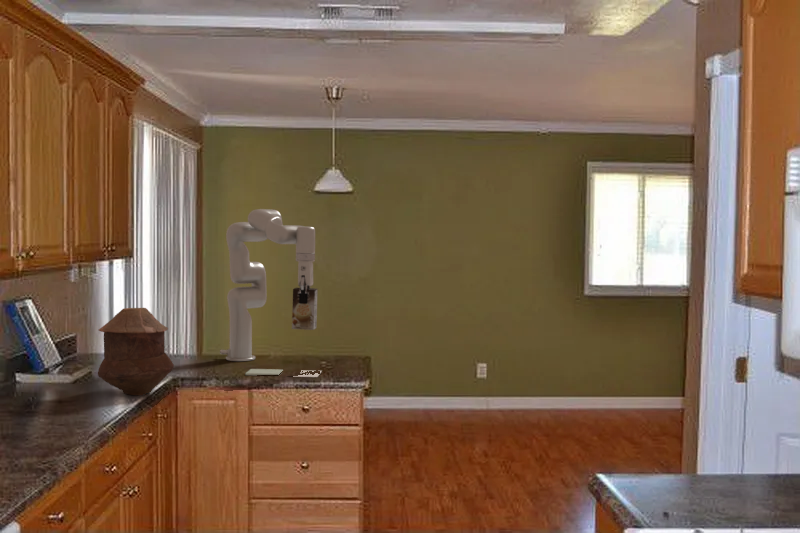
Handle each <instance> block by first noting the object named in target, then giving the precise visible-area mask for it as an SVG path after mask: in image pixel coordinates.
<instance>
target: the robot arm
mask: <svg viewBox="0 0 800 533" xmlns="http://www.w3.org/2000/svg"><path fill="white" fill-rule="evenodd" d="M225 235H226V236H225V237H226V238H225V239H226V243H227V248H228V252H229V253H228V254H229V275H230V280H231V282H232V283H233V284H237V285H238V284H239V285H243V284H251V286H237V287H233V288H231V289H229V291H228V292H227V299H226V300H227V305H228V312H229V348H228V349H220V350H219V354H220V355H226V356H225V359H226V361H229V362H230V361H231V362H249V361H254V360H256V355H252V354H253V348H252V347H253V339H252V338H253V322H252V321H253V320H252V316H251V314H250V311H249V310H248V309H257V308H263V307H264V306H265V304H266V303H267V298H268V296H267V293H268V291H267V273H266V268H265V266H264V264H262V263H261V262H259V261H250V251H249V249H248V248H249V247H247V245H246V244H245V242H247V243H248V242H249V243H252V242H253V243H254V242H255V243H256V242H257V243H259V242H264V241H266V240H270V241H271V242H273V243H275V244H279V245H295V262H298V266H297V267H298V268H297V269H298V270H297V285H298V287H299V288H300V293H299V303H300V304H307V298H308V294H307V288H311V287H312V286H313V285H314V262H315V261H316V229H315V227H314V226H304V225H297V224H296V225H294V224H292V225H291V224H290V225H289V224H287V225H286V224H285V225H284V224H283V218H282V215H281V213H280V212H279V211H278V210H276V209H271V208H270V209H268V208H266V209H265V208H259V209H253V210H251V211H250V212H249V213H248V215H247V221H239V222H233V223H231V224H230V225H229V226H228V227H227V230H226V234H225Z"/></svg>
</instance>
